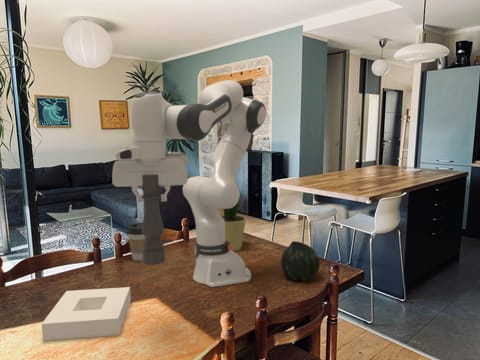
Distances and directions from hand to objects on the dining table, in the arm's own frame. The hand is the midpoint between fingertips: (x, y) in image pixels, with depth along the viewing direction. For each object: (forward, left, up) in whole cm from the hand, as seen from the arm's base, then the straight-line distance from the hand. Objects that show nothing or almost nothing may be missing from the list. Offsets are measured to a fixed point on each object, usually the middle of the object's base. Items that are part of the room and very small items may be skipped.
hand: (151, 201), depth 100 cm
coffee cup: (+12, -57, -37) cm, 69 cm away
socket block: (+20, -6, -37) cm, 42 cm away
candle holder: (0, 0, -18) cm, 18 cm away
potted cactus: (-29, -65, -37) cm, 80 cm away
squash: (-52, -27, -37) cm, 69 cm away
